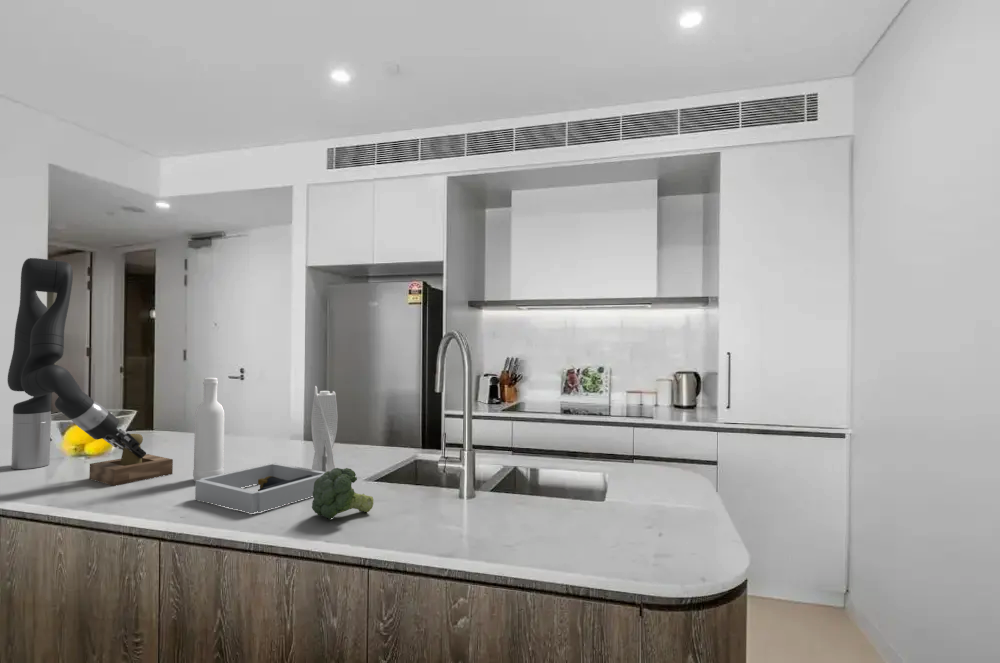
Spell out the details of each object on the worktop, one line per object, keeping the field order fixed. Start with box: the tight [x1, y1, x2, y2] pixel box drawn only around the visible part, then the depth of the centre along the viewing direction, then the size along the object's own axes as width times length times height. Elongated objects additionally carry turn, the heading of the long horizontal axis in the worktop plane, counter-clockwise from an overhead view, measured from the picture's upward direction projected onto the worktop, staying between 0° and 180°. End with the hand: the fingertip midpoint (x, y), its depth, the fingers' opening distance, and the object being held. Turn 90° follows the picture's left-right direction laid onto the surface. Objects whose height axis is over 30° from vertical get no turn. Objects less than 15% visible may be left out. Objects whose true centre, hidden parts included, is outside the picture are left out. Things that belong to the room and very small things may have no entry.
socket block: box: [88, 453, 174, 487], centre depth 162 cm, size 14×16×4 cm
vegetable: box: [311, 467, 374, 520], centre depth 128 cm, size 12×13×15 cm
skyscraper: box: [310, 385, 339, 472], centre depth 160 cm, size 8×8×28 cm
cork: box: [120, 433, 144, 466], centre depth 161 cm, size 6×6×11 cm
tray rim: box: [194, 462, 325, 513], centre depth 144 cm, size 24×24×5 cm
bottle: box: [192, 377, 225, 483], centre depth 160 cm, size 8×8×30 cm
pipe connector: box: [257, 475, 313, 491], centre depth 143 cm, size 12×5×15 cm
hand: (138, 454), depth 163 cm, fingers open, 4 cm apart
